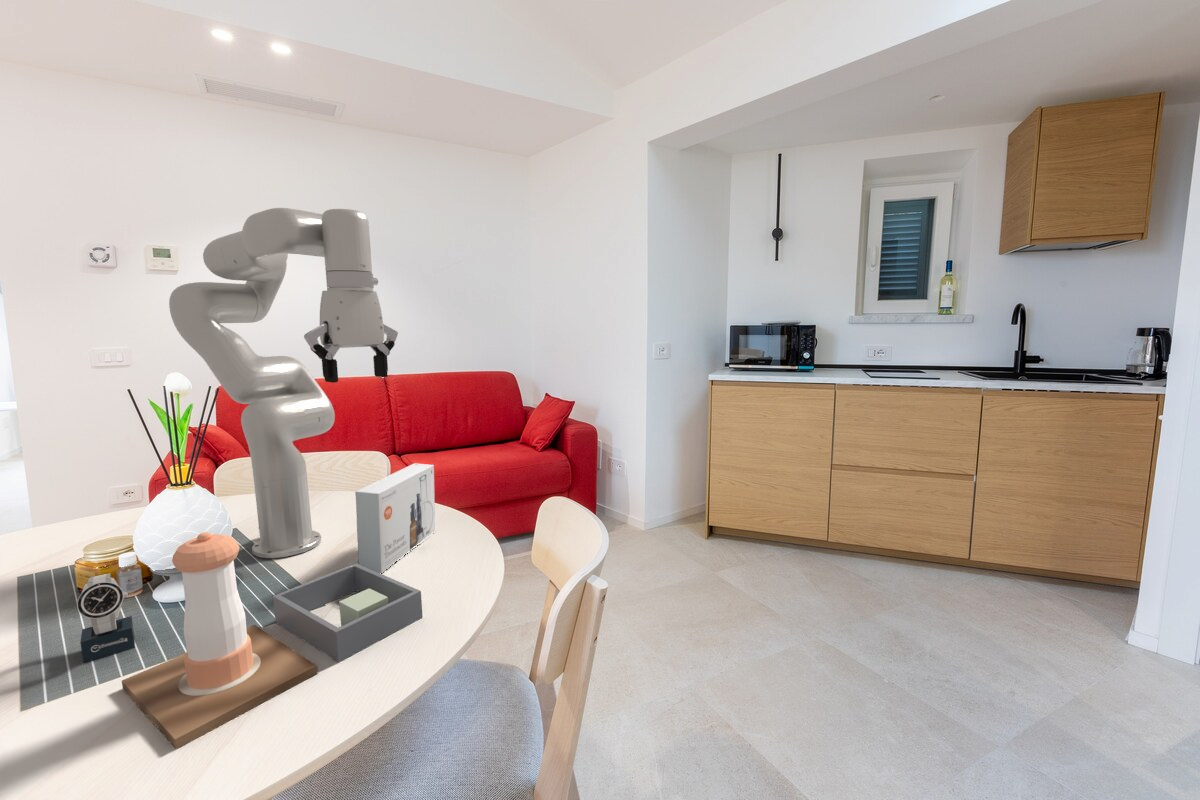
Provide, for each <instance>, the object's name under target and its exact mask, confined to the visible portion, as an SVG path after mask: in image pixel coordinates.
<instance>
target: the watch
mask: <svg viewBox="0 0 1200 800" xmlns="http://www.w3.org/2000/svg"><path fill="white" fill-rule="evenodd" d="M128 594H129V593H128V591H123V589H122V588H121V587H120V585H119V584H118V582H117V581H116V580H115V578H114V577H111V573H110V572H108V573H105V574H100V575H95V576H91V577H90V576H89V577H88V581H87V583H85V584H84V585H83V588H82V591H81V593H80V595H79V596H78V599H77V601H76V608H77V610H78V612H79V614H80V615H82V616H83V619H84V620H85V621H86V623H87V624H88V626H90V627H85V628H83V629H81V636H80V642H79V643H80V649H81V653H82V662H83V664H85V663H88V662H92V661H96V660H97V659H101V658H105V657H108V656H112V655H115V654H118V653H122V652H126V651H128V650H132V649H135V648H136V646H135V645H136V641H135V636H136V635H135V630H134V622H133V617H132V615H130V616H126V617H122V618H119V615H120V611H121V608H122V606H123V603H124V599H125V598H128V597H129V595H128ZM118 618H119V619H118Z"/></svg>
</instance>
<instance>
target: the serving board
mask: <svg viewBox="0 0 1200 800" xmlns="http://www.w3.org/2000/svg"><path fill="white" fill-rule="evenodd" d="M246 630H247V634H248V635H249V637H250V638H251V644H252V653H253V665H252V667H251V668H250V670H249V671H248V672H247V673H245V674H244V675H243V676H241V677H240V678H238V679H236V680H234V681H232V682H230V683H227V684H225V685H222V686H219V687H215V688H210V689H195V688H192V687H190V686H188V683H187V677H186V670H185V662H184V657H185V654H186V653H183V654H181V655H179V656H176V657H174V658H172V659H169V660H167V661H165V662H162V663H160V664H157V665H155V666H153V667H150V668H148V669H144V670H143V671H141V672H138V673H136V674H134V675H132V676H129V677H127V678H124V679H122V680H121V686H122V690H123V691H124V692H125V693H126V695H127V696H128V697H129V698H130V699H131V700H132V701H133V702H134V703H135V705H136V706H137V707H138V708H139V709H140V710H141V711H142V712H143V714H144V715H145V716H147V719H149V720H150V721H151V723H152V724H155V725H156V726H157V727H158V728H159V729H160V730H161V731H162V732H161V731H160V730H159V729H158V728H157V727H156V726H155V727H156V728H157V729H158V730H159V731H160V732H161V733H162V735H163V734H164V735H165V736H166V737H167V738H166V737H165V736H164V735H163V736H164V737H165V738H166V739H167V740H168V741H169V743H170V744H172V746H173V747H174V748H175V749H176V750H178V749H179V748H181V747H183V746H185V745H187V744H188V743H191V742H193V741H195V740H196V739H198V738H201V737H202V736H203V735H204V736H205V734H207V733H209V732H211V731H214V730H215V729H217V728H218V727H220V726H223V725H224V724H226V723H228V722H229V721H232V720H234V719H235V718H237V717H240V716H241V715H243V714H245V713H247V712H248V711H251V710H252V709H254V708H256V707H258V706H260V705H262V704H264V703H266V702H267V701H269V700H271V699H273V698H275V697H277V696H279V695H281V694H282V693H285V692H286V691H288V690H290V689H291V688H293V687H295V686H297V685H300V684H302V683H303V682H305V681H307V680H309V679H310V678H312V677H314V676H316V675H318V673H319V672H318V666H317V664H315V663H314V662H312V661H311V660H309V659H307V658H306V657H305V656H303V655H302V654H300V653H299V652H297V651H296V650H294V649H293V648H291V647H290V646H288V645H287V644H285V643H283V642H282V641H280V640H279V639H278V638H277V637H274V636H273V635H272V634H270V633H268V632H267V631H265V630H264V629H262V628H261V627H259V626H257V625H256V624H252V625H249V626H246Z"/></svg>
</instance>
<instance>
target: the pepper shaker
mask: <svg viewBox="0 0 1200 800" xmlns="http://www.w3.org/2000/svg"><path fill="white" fill-rule="evenodd" d="M239 551H240V544H239V543H238V541H237V540H236V539H235V538H234V537H233V536H230V535H227V534H219V533H214V534H212V533H211V532H207V531H204V532H200V533H199V534H198V535H197V537H194V538H191V539H190V540H188V541H186V542H184V543H181V545H179V546H178V547H177V549H176V550H175V552H174V553H173V555H172V560H171V562H172V565H173V566H174V567H175V569H176V570H177V571H178V572H181V575H182V576H181V577H182V581H183V582H182V585H183V592H184V600H185V601H184V603H185V604H184V617H183V618H184V620H183V636H184V640H185V641H184V642H185V647H186V653H184V654H185V657H184V662H185V670H186V677H187V683H188V686H190V687H192V688H195V689H210V688H215V687H219V686H222V685H225V684H227V683H230V682H232V681H234V680H236V679H238V678H240V677H241V676H243V675H244V674H245V673H247V672H248V671H249V670H250V668H251V667H252V665H253V653H252V644H251V638H250V637H249V635H248V634H247V630H246V628H247V621H246V620H247V619H246V612H245V610H244V606H243V603H242V600H241V597H240V594H239V591H238V585H237V578H236V569H235V561H234V560H235V559H237V556H238V554H239Z"/></svg>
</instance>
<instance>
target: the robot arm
mask: <svg viewBox="0 0 1200 800" xmlns="http://www.w3.org/2000/svg"><path fill="white" fill-rule="evenodd" d="M370 237H371V236H370V226H369V218H368V216H367V215H366V214H365V213H364V212H362V211H360V210H356V209H350V208H330V209H327V210H325V211H323V213H316V212H314V211H313V212H312V211H307V210H301V209H295V208H288V207H273V208H269V209H265V210H262V211H258V212H256V213H253V214H251V215H249V216H248V217H247V218H246V220H245V221H244V224H243V226H242V230H240V231H236V232H233V233H229V234H227V235H224V236H220V237H218V238H216V239H214V240H212V241H210V242H209V243H207V245H206V246H205V248H204V250H203V253H202V260H203V263H204V265H205V267H206V268H207V269H208V270H209V271H210V273H213V274H214V275H215V276H217V277H219V278H222V279H225V280H230V281H242V282H243V281H246V282H245V283H235V282H234V283H233V282H232V283H230V282H211V281H210V282H209V281H208V282H207V281H200V282H188V283H185V284H181V285H180V286H177V287H176V288H175V289H173V291H172V292H171V293H170V297H169V300H168V302H169V305H168V306H169V307H168V308H169V314H170V316H171V320H172V323H173V325H174V327H175V329H176V331H177V332H178V334H179V335H180V337H181V338H182V339H183V340H184V341H185V343H187V344H188V345H189V346H190V347H191V348H192V349H193V350H194V351H195V353H197V355H199V356H200V358H202V359H203V361H204V362H205V364H206V365H207V366H208V368H209V369H210V371H211V373H212V374H213V376H215V378H216V380H217V381H218V383H219V384H220V385H221V387H222V388H223V389H224V391H225V392H226V394H227V395H229V397H230V398H231V400H233V401H234V402H236V403H238V404H243V405H247V404H248V405H247V406H246V407H245V408H244V409H243V411H242V413H241V417H240V422H241V427H242V431H243V434H244V437H245V440H246V443H247V445H248V446H247V447H248V451H249V455H250V460H251V468H252V476H253V486H254V495H255V503H256V513H257V521H258V532H259V540H258V541H256V542H254V544H253V545H252V547H251V549H252V551H251V552H252V554H253V556H256V557H258V558H263V559H279V558H285V557H291V556H295V555H300V554H302V553H305V552H308V551H310V550H312V549H313V548H315V547H317V546H318V545H319V544H320V543H321V541H322V537H321V536H322V535H321V533H320V532H318V531H315V530H313V527H312V517H311V516H312V515H311V514H312V513H311V505H310V495H309V494H310V493H309V482H308V471H307V464H306V460H305V458H304V456H303V454H302V453H301V451H300V450H299V449H298V448H297V447H296V446H295V445H294V441H297V440H301V439H307V438H311V437H312V438H313V437H315V436H319V435H322V434H323V435H324V434H325V433H327V432H328V431H329V430H331V428H332V427H333V426H334V424H335V421H336V420H335V418H336V414H335V410H334V407H333V404H332V402H331V400H330V399H329V398H328V396H327V394H326V393H325V391H324V390H323V389H322V387H321V386H320V384H319V383H318V382H317V381H316V379H315V378H314V377H313V375H312V374H311V372H310V371H309V369H307V368H306V366H305V365H304V364H303V363H302V362H301V361H299V360H298V359H296V358H294V357H292V356H285V355H276V356H275V355H272V356H263V355H259V354H257V353H256V352H255V351H254V350H253V349H252V347H250V345H249V343H248V342H247V341H246V340H245V339H244V338H243V337H242V336H241V335H240V334H238V333H237V332H235V331H233V330H231V329H230V328H229V327H228V328H227V327H226V326H224V325H223V324H250V323H252V324H253V323H256V322H259V321H260V322H261V321H262V320H263V319H264V318H265V317H266V316H267V315H268V313H269V311H270V310H271V307H272V306H273V303H274V301H275V299H276V296H277V294H278V292H279V290H280V288H281V285H282V283H283V281H284V278H285V275H286V272H287V264H288V263H287V260H288V257H289V255H292V254H293V255H302V256H312V257H320V258H324V266H325V280H326V281H325V282H326V290H322V292H321V297H320V304H319V325H318V326H317V327H315V328H313V329H312V330H309V331H308V332H306V333H305V334H304V335H303V338H304V340H305V342H306V343H307V345H308V346H309V347H310V351H312V352H313V354H315V355H316V356H317V357H318V359H320V360H321V366H322V367H321V369H322V376H323V378H324V381H325V382H326V383H338V382H339V372H338V361H337V359H334V357H335V356H336V354H337V352H338V351H339V350H340V349H342V348H343V349H344V348H345V349H347V348H348V349H349V348H364V347H367V348H368V347H370V349H371V350H372V351H373V352H374V353H375V354H374V355H373V371H374V376H375V377H376V378H378V377H379V378H387V377H388V372H389V367H388V366H389V365H388V356H389V355H390V354H391V350H392V349H393V348H394V347H395V345H396V343H395V342H396V340H397V338H398V334H399V333H398V331H397V330H396V329H394V328H392V327H389V326H388V325H387V324H385V323H384V320H383V314H382V309H381V304H380V303H381V302H380V300H379V296H378V293H377V291H376V290H375V291H374V288H375V287H374V286H377V285H378V284H379V279H378V278H377V277H374V274H373V267H372V266H373V265H372V251H371V249H372V248H371V239H370ZM288 254H289V255H288ZM213 274H212V275H213ZM385 335H386V340H385ZM318 339H320V343H321V344H320V343H319V340H318Z"/></svg>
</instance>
